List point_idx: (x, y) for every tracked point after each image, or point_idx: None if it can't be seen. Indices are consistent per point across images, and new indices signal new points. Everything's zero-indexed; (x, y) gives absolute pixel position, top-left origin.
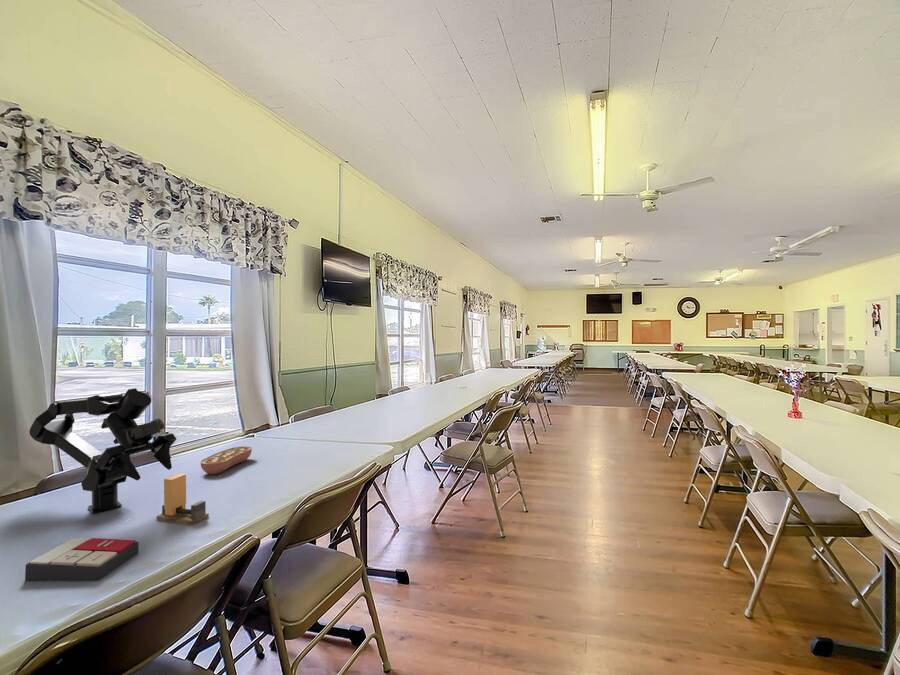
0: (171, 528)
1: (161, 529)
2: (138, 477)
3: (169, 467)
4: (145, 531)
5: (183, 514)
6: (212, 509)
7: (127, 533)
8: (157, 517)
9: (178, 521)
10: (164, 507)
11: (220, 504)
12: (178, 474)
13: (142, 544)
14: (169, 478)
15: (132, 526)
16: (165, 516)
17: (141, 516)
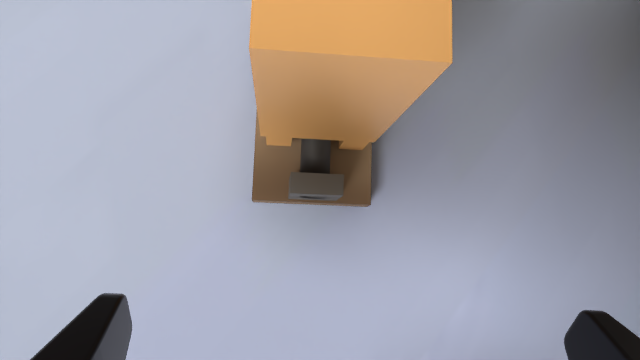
0: None
1: (450, 76)
2: (611, 320)
3: (123, 314)
4: (490, 138)
5: None
6: (165, 4)
7: (532, 210)
8: (369, 198)
9: None
10: (376, 138)
11: (84, 11)
12: (277, 25)
13: (590, 32)
14: (422, 13)
15: (464, 266)
16: None
17: (347, 349)
